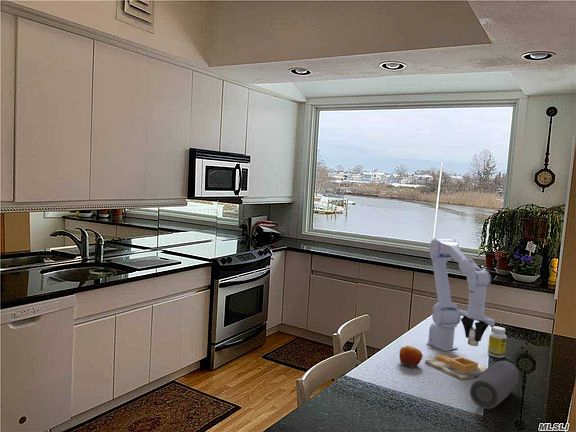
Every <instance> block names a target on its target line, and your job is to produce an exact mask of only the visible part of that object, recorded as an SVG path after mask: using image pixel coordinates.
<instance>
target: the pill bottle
mask: <svg viewBox="0 0 576 432" xmlns="http://www.w3.org/2000/svg"><path fill="white" fill-rule="evenodd" d="M505 333H506V328H505V327H501V326H496V325H493V326H492V331H491V332H490V333H489V337H488V347H487V354H488V355H489V356H491V357H493V358H498V359H499V358H501V359H502V358H505V356H506V346H507V335H506V334H505Z"/></svg>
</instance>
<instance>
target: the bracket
mask: <svg viewBox="0 0 576 432" xmlns="http://www.w3.org/2000/svg"><path fill="white" fill-rule="evenodd" d="M435 358H436V359H438V360H440V361H442V362H445V363H448V364H449V366H450V367H453V368H455V369H457V370H459V371H461V372H464V373H468V372H471V371H475V370H477V369H478V364H479V363H478V362H476V361H473V360H471V359H469V358H466V357H463V356H460V357H458V358H454V359H453V358H451V357H448V356H447V355H445V354H444V353H441V354H437V355H435Z"/></svg>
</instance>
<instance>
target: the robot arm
mask: <svg viewBox="0 0 576 432" xmlns="http://www.w3.org/2000/svg"><path fill="white" fill-rule="evenodd" d="M428 248H429V249H428V250H429V254H430V256H429V257H430V259H431V261H432V267H433V268H432V269H433V275H434V281H435V289H436V298H437V302H436V303H435V304H434V305H433V306H432V315H431V316H432V317H431V318H432V321H433V322H432V323H431V324H430V326H429V330H428V339H427V340H428V341H427V342H426V344H427V345H430V346H432V347H433V348H436V349H439V350H441V351H444V352H447V351H451V350H452V351H453V350H457V349H458V347H457V345H456V346H455V345H454V341H455V340H454V339H455V331H456V328H457V327H458V326H457V325H459V324H460V323H462V326H463V329H464V334H465V338H466V339H468V336H469V327H476V341H477V342H478V341H479V342H481V341H482V338H483V335H484V333H485V331H487V329H488V327H489V326H492V327H493V326H495V322H496V320H495V319H492V318H490V317H489V316H486V315H485V309H486V308H485V307H486V300H487V299H486V296H487V287H489V286H490V285H491V282H492V276H491V274H490V272H489V271H488V270H485V269H481V267H480V266H478V264H476V262H475V261H474V259H473V258H471V257H469V258H468V257H466V256H465V254H464V253H463V252H462V250H461V249H460V247H459V243H458V242H457V240H456V239H453V238H452V239H447V238H446V239H441V238H433V239H431V241H430V243H429V245H428ZM451 259H454V261H455V262H456V263H457V264H458V268H459V270H460V271H461V272H462V273H463V274H464V276H465V277H466V282H467V284H468V285H467V289H468V290H469V291H468V300H467V302H468V303H467V310H464V309H459V307H458V305H457V304H456V303H455V302H453V301H452V295H451V290H450V289H451V288H450V282H449V276H448V275H449V274H448V270H447V262H448V261H450V260H451ZM474 321H476V322H475V323H474ZM479 342H478V343H479Z"/></svg>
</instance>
